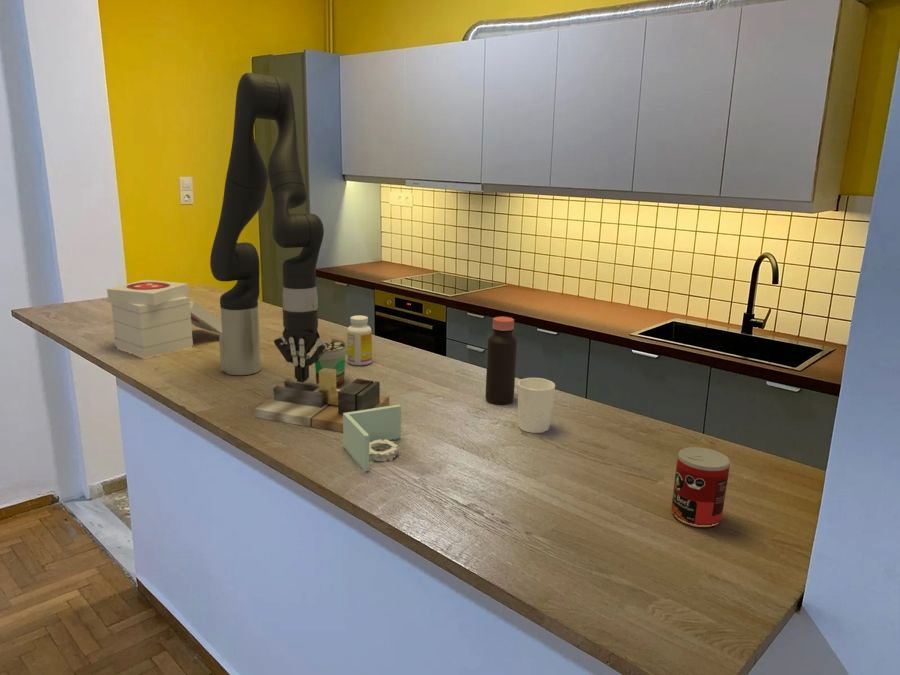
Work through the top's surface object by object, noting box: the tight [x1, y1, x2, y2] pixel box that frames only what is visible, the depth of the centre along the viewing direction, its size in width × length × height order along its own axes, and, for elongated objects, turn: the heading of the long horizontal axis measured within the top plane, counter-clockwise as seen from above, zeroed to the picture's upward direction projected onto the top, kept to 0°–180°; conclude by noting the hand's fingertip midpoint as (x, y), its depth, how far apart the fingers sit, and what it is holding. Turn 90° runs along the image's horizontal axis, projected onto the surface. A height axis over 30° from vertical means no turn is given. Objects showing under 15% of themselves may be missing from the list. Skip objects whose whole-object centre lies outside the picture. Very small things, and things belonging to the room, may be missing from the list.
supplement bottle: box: [346, 315, 373, 367], centre depth 187 cm, size 7×7×13 cm
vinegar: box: [484, 316, 518, 405], centre depth 161 cm, size 7×7×20 cm
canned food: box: [670, 446, 731, 525], centre depth 113 cm, size 8×8×11 cm
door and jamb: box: [254, 378, 390, 433], centre depth 153 cm, size 24×18×7 cm
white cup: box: [517, 377, 556, 434], centre depth 147 cm, size 8×8×10 cm
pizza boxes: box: [106, 279, 222, 357], centre depth 198 cm, size 19×30×18 cm, turn 143°
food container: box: [313, 338, 348, 389], centre depth 170 cm, size 12×6×10 cm, turn 168°
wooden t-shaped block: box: [313, 368, 339, 405], centre depth 151 cm, size 12×2×7 cm, turn 72°
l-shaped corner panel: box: [342, 404, 402, 472], centre depth 133 cm, size 12×12×8 cm
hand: (302, 380), depth 154 cm, fingers closed
